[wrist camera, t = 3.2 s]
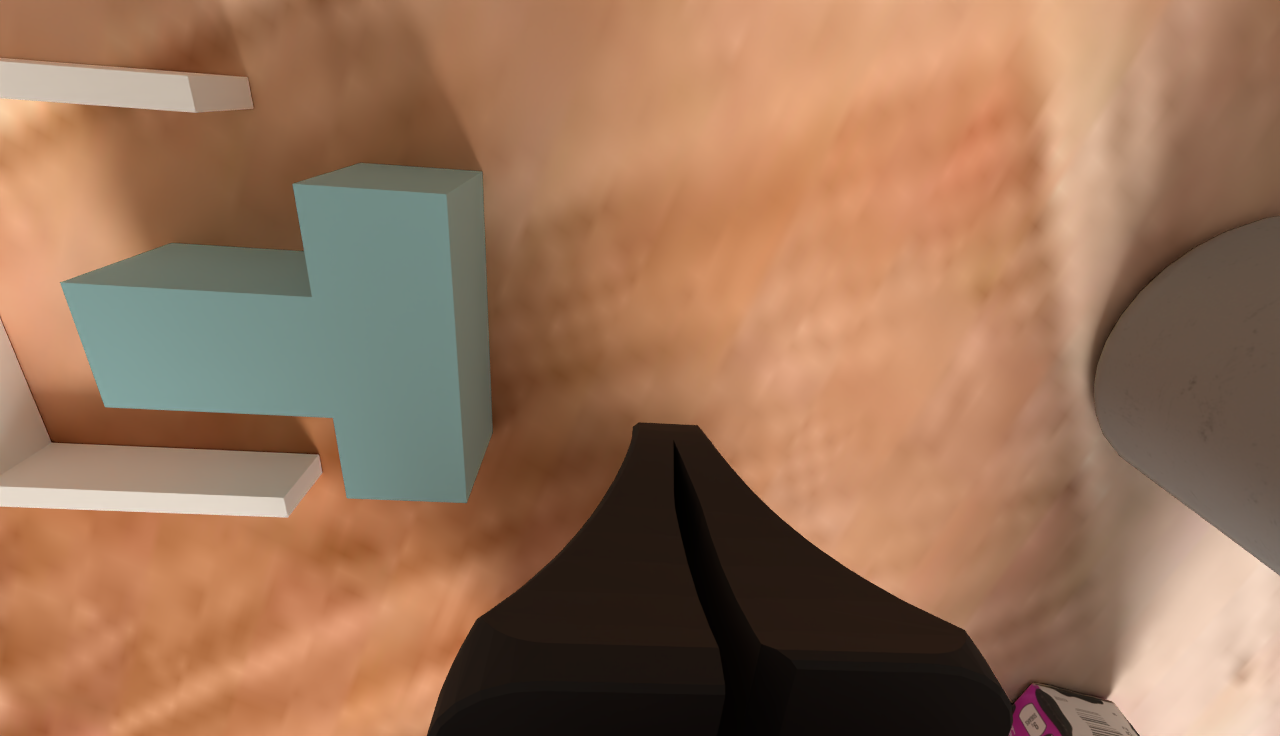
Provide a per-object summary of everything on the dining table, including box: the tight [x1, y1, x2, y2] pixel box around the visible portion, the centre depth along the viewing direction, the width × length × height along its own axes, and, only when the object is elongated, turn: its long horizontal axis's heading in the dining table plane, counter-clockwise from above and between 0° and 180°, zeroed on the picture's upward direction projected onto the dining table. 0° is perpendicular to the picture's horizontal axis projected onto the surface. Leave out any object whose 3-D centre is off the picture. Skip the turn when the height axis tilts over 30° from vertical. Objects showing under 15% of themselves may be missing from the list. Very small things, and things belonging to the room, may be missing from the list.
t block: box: [60, 163, 493, 503], centre depth 17 cm, size 10×9×4 cm
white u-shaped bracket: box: [0, 58, 322, 517], centre depth 18 cm, size 10×13×2 cm
